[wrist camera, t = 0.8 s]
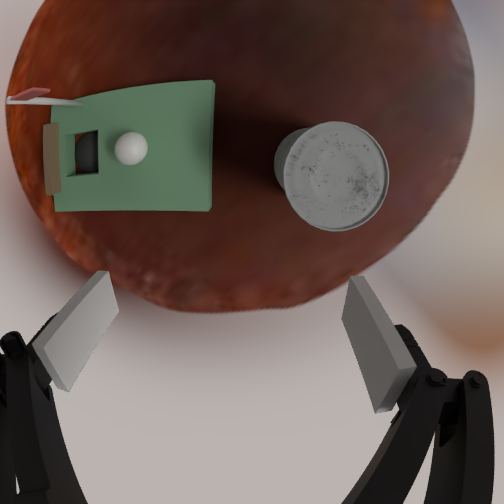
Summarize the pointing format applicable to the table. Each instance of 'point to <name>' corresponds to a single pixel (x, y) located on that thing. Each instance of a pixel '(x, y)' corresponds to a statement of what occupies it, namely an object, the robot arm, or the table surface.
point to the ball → (131, 148)
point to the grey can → (332, 175)
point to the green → (111, 129)
